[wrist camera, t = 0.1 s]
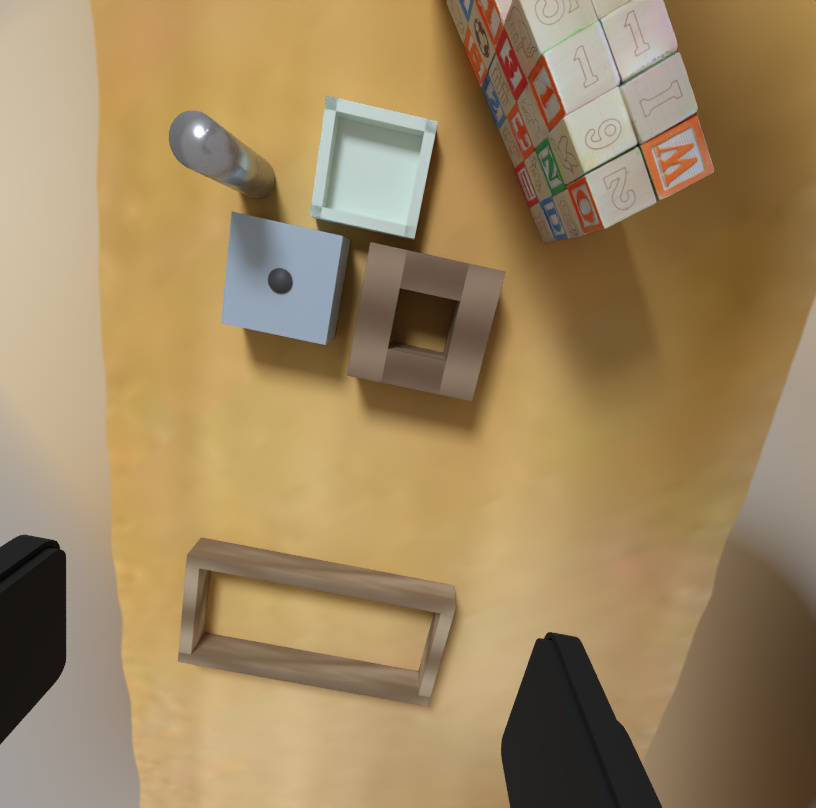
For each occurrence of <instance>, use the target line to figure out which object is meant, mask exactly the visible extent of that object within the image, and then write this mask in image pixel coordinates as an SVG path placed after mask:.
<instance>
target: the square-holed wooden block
mask: <svg viewBox="0 0 816 808" xmlns="http://www.w3.org/2000/svg"><path fill="white" fill-rule="evenodd" d="M504 276H505V272H504V271H500V270H495V269H491V268H486V267H482V266H477V265H472V264H468V263H463V262H459V261H454V260H450V259H445V258H441V257H436V256H431V255H427V254H422V253H418V252H413V251H409V250H404V249H400V248H395V247H391V246H386V245H381V244H377V243H372V242H370V247H369V253H368V258H367V264H366V270H365V275H364V281H363V287H362V293H361V298H360V304H359V310H358V315H357V321H356V327H355V332H354V338H353V344H352V349H351V355H350V361H349V367H348V372H347V376H352V377H357V378H361V379H366V380H371V381H376V382H381V383H385V384H390V385H395V386H400V387H405V388H410V389H414V390H419V391H424V392H429V393H434V394H439V395H443V396H448V397H453V398H458V399H463V400H467V401H472V400H473V396H474V392H475V388H476V384H477V380H478V377H479V373H480V369H481V365H482V361H483V357H484V353H485V349H486V346H487V342H488V338H489V334H490V330H491V326H492V322H493V318H494V315H495V311H496V307H497V303H498V299H499V295H500V291H501V287H502V284H503V280H504ZM401 288H402V289H406V290H411V291H416V292H420V293H425V294H430V295H434V296H439V297H443V298H448V299H453V300H455V305H454V309H453V313H452V318H451V322H450V326H449V331H448V335H447V339H446V343H445V348H444V352H438V351H433V350H428V349H424V348H419V347H414V346H409V345H405V344H400V343H395V342H390V341H391V336H392V331H393V326H394V321H395V316H396V311H397V306H398V301H399V296H400V291H401Z"/></svg>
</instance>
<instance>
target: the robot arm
mask: <svg viewBox="0 0 816 808" xmlns="http://www.w3.org/2000/svg"><path fill="white" fill-rule="evenodd" d="M65 663H66V554H65V552H64V551H63V550H60V546H59V544H58V542H57V541H54V540H50V539H45V538H40V537H34V536H29V535H20V536H18V537H16V538H14V539H12V540H11V541H9V542H8V543H6V544H4V545H3V546H1V547H0V744H1V743H2V742H3V741H4V740H5V738H6V737H7V736H8V735H9V734H10V733H11V732H12V730H14V728H15V727H16V726H17V725H18V724H19V723H20V722H21V721H22V719H23V718H24V717H25V716H26V715H27V714H28V713H29V712H30V710H31V709H32V708H33V707H34V706H35V705H36V704H37V703H38V701H39V700H40V699H41V698H42V697H43V696H44V695H45V693H46V692H47V691H48V690H49V689H50V688H51V687H52V686H53V684H54V683H55V682H56V681H57V679H58V678H59V676H60V675H61V673H62V671H63V669H64V666H65ZM501 756H502V763H503V769H504V774H505V780H506V785H507V791H508V797H509V802H510V808H662V806H661V804H660V802H659V800H658V797H657V795H656V793H655V791H654V789H653V787H652V784H651V782H650V780H649V778H648V776H647V774H646V772H645V769H644V767H643V765H642V763H641V761H640V759H639V756H638V754H637V752H636V750H635V748H634V746H633V743H632V741H631V739H630V737H629V735H628V733H627V732H626V730H625V728H624V726H622V725H621V724H620V723H619V722H618V721H617V719H616V717H615V715H614V713H613V710H612V708H611V706H610V704H609V702H608V699H607V697H606V695H605V693H604V691H603V688H602V686H601V684H600V682H599V680H598V677H597V675H596V673H595V671H594V669H593V666H592V664H591V662H590V660H589V658H588V655H587V653H586V651H585V649H584V646H583V644H582V642H581V641H580V639H579V638H577V637H574V636H568V635H563V634H558V633H552V632H548V633H547V634H546V636H545V638H544V639H541V638H538V639H537V640H536V642H535V645H534V648H533V651H532V654H531V656H530V659H529V662H528V665H527V668H526V671H525V674H524V677H523V679H522V682H521V685H520V688H519V691H518V694H517V697H516V699H515V702H514V705H513V708H512V711H511V714H510V717H509V720H508V722H507V725H506V728H505V731H504V734H503V737H502V744H501Z"/></svg>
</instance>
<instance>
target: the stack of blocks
mask: <svg viewBox="0 0 816 808" xmlns="http://www.w3.org/2000/svg"><path fill="white" fill-rule="evenodd" d="M446 3H447V6H448V8H449V11H450V13H451V16H452V18H453V21H454V23H455V26H456V28H457V30H458V33H459V35H460V38H461V40H462V42H463V44H464V47H465V50H466V53H467V55H468V58H469V60H470V63H471V65H472V68H473V70H474V73H475V75H476V78H477V80H478V83H479V85H480V87H481V88H482V89H483V92H484V95H485V97H486V100H487V102H488V104H489V107H490V109H491V112H492V114H493V117H494V119H495V122H496V124H497V127H498V128H499V130H500V133H501V136H502V138H503V141H504V143H505V146H506V148H507V151H508V153H509V156H510V158H511V160H512V163H513V165H514V167H515V173H516V175H517V178H518V181H519V183H520V185H521V188H522V190H523V193H524V195H525V198H526V200H527V203H528V205H529V208H530V211H531V214H532V216H533V219H534V221H535V224H536V226H537V229H538V231H539V234H540V236H541V239H542V241H543V243H548V242H553V241H556V240H562V239H568V238H570V239H572V238H578V237H582V236H586V235H588V234H590V233H591V232H594V231H599V230H604V229H606V228H608V227H610V226H612V225H614V224H616V223H618V222H620V221H622V220H624V219H626V218H628V217H630V216H632V215H634V214H636V213H638V212H640V211H642V210H644V209H646V208H648V207H650V206H652V205H654V204H655V203H656V201H659V200H662V199H664V198H666V197H668V196H670V195H672V194H674V193H676V192H678V191H680V190H682V189H684V188H686V187H688V186H690V185H692V184H694V183H695V182H697V181H699V180H701V179H703V178H705V177H707V176H709V175H710V174H712V173H714V171H715V170H714V167H713V163H712V160H711V157H710V154H709V151H708V148H707V144H706V141H705V137H704V134H703V131H702V128H701V125H700V121H699V118H698V116H697V115H696V112H697V110H698V106H697V103H696V100H695V97H694V93H693V90H692V88H691V85H690V81H689V78H688V75H687V72H686V69H685V66H684V63H683V60H682V57H681V55H680V53H679V52H677V51H676V50H677V46H678V42H677V40H676V36H675V33H674V30H673V27H672V24H671V21H670V18H669V15H668V12H667V9H666V6H665V3H664V0H446Z"/></svg>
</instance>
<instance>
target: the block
mask: <svg viewBox="0 0 816 808" xmlns="http://www.w3.org/2000/svg"><path fill="white" fill-rule="evenodd" d="M350 241H351V240H349V239H347V238H346V237H344V236H341V235H336V234H331V233H327V232H322V231H318V230H313V229H309V228H304V227H300V226H295V225H290V224H286V223H281V222H277V221H272V220H268V219H263V218H259V217H254V216H250V215H245V214H240V213H236V212H232V215H231V225H230V236H229V247H228V257H227V268H226V279H225V289H224V300H223V310H222V321H221V323H223V324H227V325H232V326H237V327H242V328H246V329H251V330H256V331H261V332H265V333H270V334H275V335H280V336H285V337H289V338H294V339H299V340H304V341H308V342H313V343H318V344H323V345H326V344H328V343H329V342H330V341H332V340H333V339H334V338H335V333H336V327H337V320H338V314H339V308H340V302H341V296H342V290H343V284H344V278H345V272H346V266H347V260H348V253H349V247H350Z"/></svg>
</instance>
